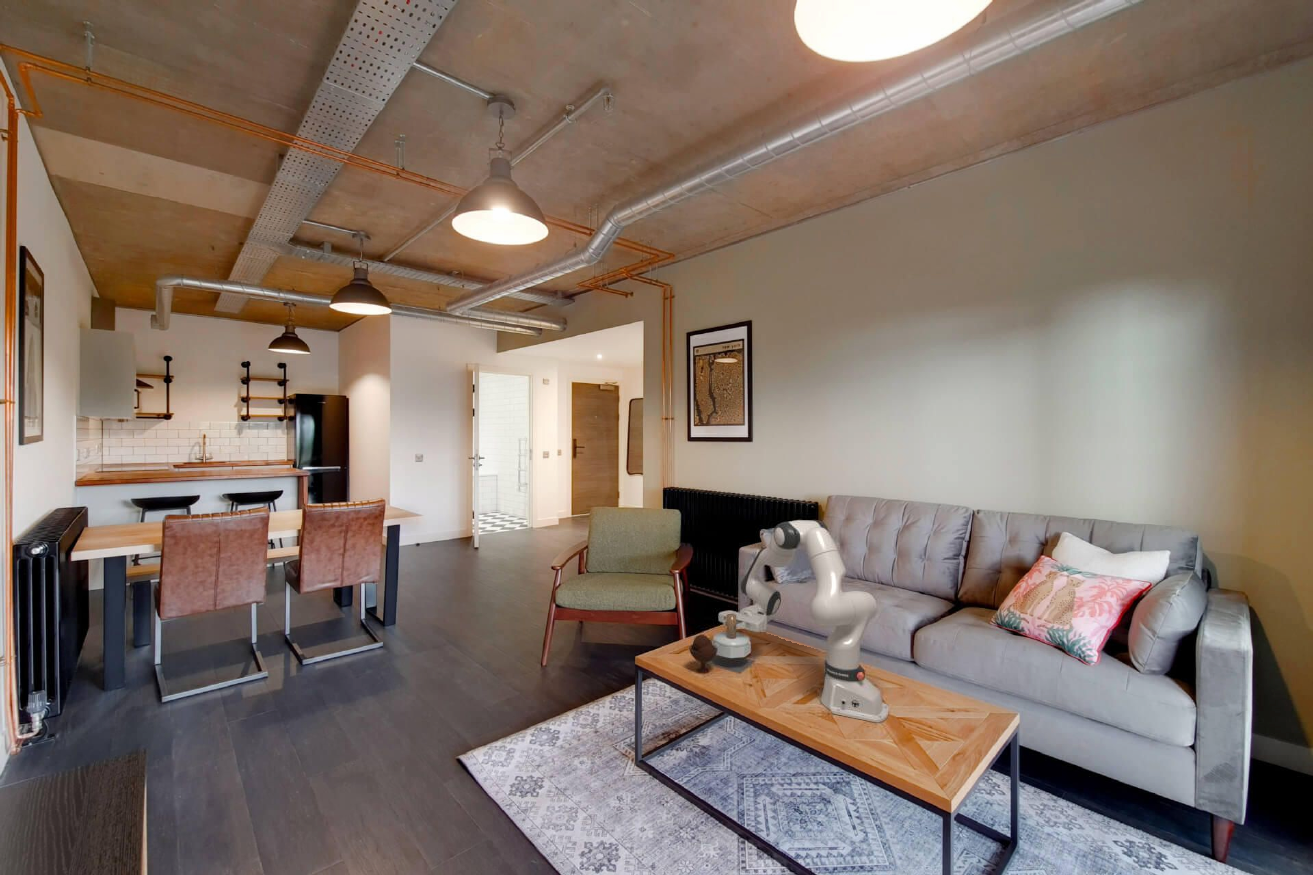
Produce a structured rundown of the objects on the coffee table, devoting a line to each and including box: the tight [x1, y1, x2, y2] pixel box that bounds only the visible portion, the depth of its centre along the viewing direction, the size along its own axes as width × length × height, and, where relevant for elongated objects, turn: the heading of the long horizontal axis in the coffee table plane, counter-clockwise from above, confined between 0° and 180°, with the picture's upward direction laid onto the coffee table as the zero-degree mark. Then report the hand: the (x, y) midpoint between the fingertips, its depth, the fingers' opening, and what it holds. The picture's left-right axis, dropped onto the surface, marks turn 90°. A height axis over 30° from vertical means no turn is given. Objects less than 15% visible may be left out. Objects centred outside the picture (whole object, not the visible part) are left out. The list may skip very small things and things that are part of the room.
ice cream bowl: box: [689, 634, 718, 675], centre depth 221 cm, size 11×11×15 cm
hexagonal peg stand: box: [711, 614, 752, 658], centre depth 230 cm, size 15×15×14 cm
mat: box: [705, 655, 756, 674], centre depth 230 cm, size 16×15×1 cm
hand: (730, 625), depth 229 cm, fingers closed on hexagonal peg stand, 4 cm apart
